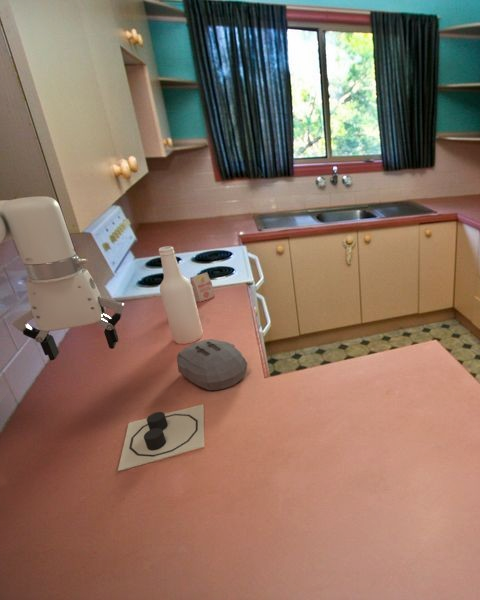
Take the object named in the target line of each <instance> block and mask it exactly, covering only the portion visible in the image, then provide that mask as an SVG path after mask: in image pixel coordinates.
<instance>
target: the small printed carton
mask: <svg viewBox="0 0 480 600" xmlns="http://www.w3.org/2000/svg"><path fill="white" fill-rule="evenodd" d="M189 278H190V280H189V281H190V283H191V285H192V289H193V293H194V297H195V301H196V303H199V302H200V303H203V302H206V301H209V300H211V299H213V297H214V298H216V297H215V291H214V286H213V283H212V280H211V278H210V276H209V273H208V272H203V273H201V274H197V275H194V276H190V277H189ZM205 300H206V301H205ZM202 301H203V302H202ZM200 303H199V304H200Z"/></svg>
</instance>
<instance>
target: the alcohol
mask: <svg viewBox="0 0 480 600" xmlns="http://www.w3.org/2000/svg"><path fill="white" fill-rule="evenodd" d="M174 248H175V247H173V246H171V245H167V246H162V247H159V248H158V252H159V253H158V254H159V256H160V261H161V267H162V273H163V279H162V281H161V282H160V285H159V293H160V297H161V300H162V305H163V309H164V312H165V314H166V319H167V322H168V327H169V330H170V333H171V337H172V340H173V342H175V343H176V344H178V345H188V344H192V343H196V342H197V341H199V340H200V339H202V337H203V334H204V330H203V326H202V322H201V317H200V314H199V310H198V307H197V306H198V305H197V302H196V301H195V297H194V293H193V289H192V285H191V283H190V280H189V279H188V278H187V277H185V276H184V275H183V273H182V271H181V269H180V266H179V263H178V260H177V257H176V255H175V249H174Z"/></svg>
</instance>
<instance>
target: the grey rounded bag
mask: <svg viewBox="0 0 480 600" xmlns="http://www.w3.org/2000/svg"><path fill="white" fill-rule="evenodd" d="M176 363H177V369H178V373H180V374H181V375H182V376H183V377H184V378H185V379H187V380H188V381H190V382H191V383H193V384H194V385H196V386H197V387H200V388H202V389H205V390H207V391H217V390H219V391H220V390H224V389H227V388H230V387H233V386H235V385H237V384H238V383H240V382H241V381H242V380H243V379H244V378H245V376H246V373H247V369H248V362H247V360H246V358H245V357H244V356H243V353H242V352H241V351H240V350H239V349H237V347H235V345H234V344H233V343H231V342H228V341H224V340H217V339H212V338H210V339H204V340H201V341H199V342H194V343H193V344H191V345H189V346H186V347H185V348H183V349H181V350H180V351H179V352H178V353H177V356H176Z"/></svg>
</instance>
